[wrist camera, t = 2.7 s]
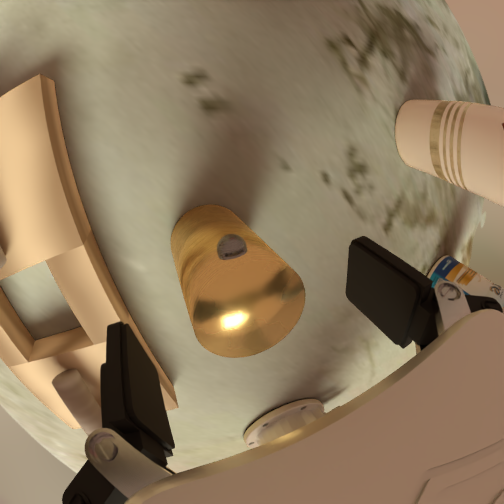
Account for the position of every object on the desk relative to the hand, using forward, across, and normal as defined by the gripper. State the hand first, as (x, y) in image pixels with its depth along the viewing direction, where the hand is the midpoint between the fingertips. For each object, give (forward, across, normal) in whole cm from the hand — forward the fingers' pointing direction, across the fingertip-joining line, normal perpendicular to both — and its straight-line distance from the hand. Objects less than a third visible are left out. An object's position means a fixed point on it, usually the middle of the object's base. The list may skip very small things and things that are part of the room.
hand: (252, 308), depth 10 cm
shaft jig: (+8, +13, +1) cm, 15 cm away
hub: (+8, 0, +1) cm, 9 cm away
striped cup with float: (+9, -21, -4) cm, 23 cm away
